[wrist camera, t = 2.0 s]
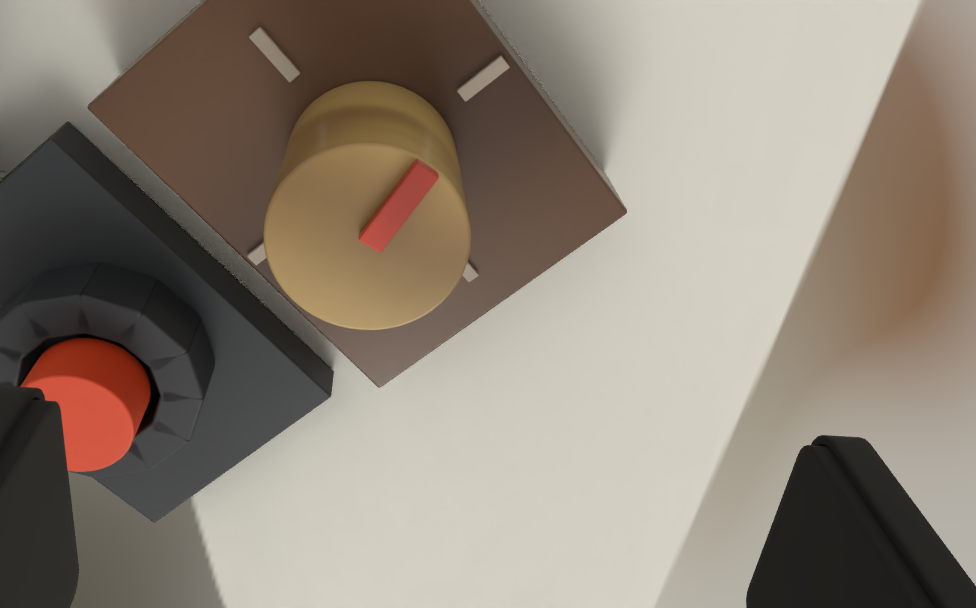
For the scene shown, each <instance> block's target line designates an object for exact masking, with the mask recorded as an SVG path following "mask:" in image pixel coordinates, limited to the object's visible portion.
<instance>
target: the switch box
mask: <svg viewBox="0 0 976 608" xmlns="http://www.w3.org/2000/svg"><path fill="white" fill-rule="evenodd" d="M73 338H94V339H100V340H104V341H107V342H110V343H113V344H115V345H117V346H119V347H121V348H123V349H124V350H126V351H127V352H129V353H130V354H131V355H132V356H134V357H135V358H136V359H137V360H138V362H139V363H140V364H141V365H142V367H143V368H144V370H145V372H146V374H147V376H148V379H149V382H150V388H151V394H150V400H149V403H148V406H147V408H146V410H145V413H144V415H143V418H142V420H141V423H140V425H139V427H138V430H137V432H136V435H135V437H134V439H133V442H132V444H131V446H130V448H129V450H128V451H127V452H126V454H125V455H124V456H123V457H122V458H120V459H119V460H118V461H116V462H115V463H113V464H112V465H109V466H107V467H105V468H102V469H99V470H94V471H86V472H74V471H70V472H74V473H78V474H82V475H86V476H90V477H93V478H94V479H95V480H97V481H98V482H99V483H101V484H102V485H104V486H105V487H106V488H108V489H109V490H110V491H112V492H113V493H114V494H116V495H117V496H118V497H120V498H121V499H123V500H124V501H125V502H127V503H128V504H129V505H131V506H132V507H133V508H135V509H136V510H138V511H139V512H140V513H142V514H143V515H144V516H146V517H147V518H148V519H150V520H151V521H153V522H156V521H158V520H159V519H160V518H162V517H163V516H165V515H166V514H168V513H169V512H170V511H172V510H173V509H175V508H176V507H177V506H179V505H180V504H181V503H183V502H184V501H186V500H187V499H189V498H190V497H191V496H193V495H194V494H195V493H197V492H198V491H200V490H201V489H202V488H204V487H205V486H207V485H208V484H209V483H211V482H212V481H214V480H215V479H216V478H218V477H219V476H221V475H222V474H223V473H225V472H226V471H228V470H229V469H230V468H232V467H233V466H235V465H236V464H237V463H239V462H240V461H242V460H243V459H244V458H246V457H247V456H249V455H250V454H251V453H253V452H254V451H256V450H257V449H258V448H260V447H261V446H263V445H264V444H265V443H267V442H268V441H270V440H271V439H272V438H274V437H275V436H277V435H278V434H279V433H281V432H282V431H284V430H285V429H286V428H288V427H289V426H291V425H292V424H293V423H295V422H296V421H298V420H299V419H300V418H302V417H303V416H305V415H306V414H307V413H309V412H310V411H312V410H313V409H314V408H316V407H317V406H319V405H320V404H321V403H323V402H324V401H326V400H327V399H328V398H330V397H331V392H332V383H333V374H334V371H333V370H332V369H331V368H330V367H329V366H328V365H327V364H326V363H324V362H323V361H322V360H321V359H320V358H319V357H318V356H317V355H316V354H315V353H314V352H313V351H312V350H311V349H310V348H309V347H307V346H306V345H305V344H304V343H303V342H302V341H301V340H300V339H299V338H298V337H297V336H296V335H295V334H294V333H293V332H292V331H290V330H289V329H288V328H287V327H286V326H285V325H284V324H283V323H282V322H281V321H280V320H279V319H278V318H277V317H276V316H274V315H273V314H272V313H271V312H270V311H269V310H268V309H267V308H266V307H265V306H264V305H263V304H262V303H261V302H260V301H259V300H257V299H256V298H255V297H254V296H253V295H252V294H251V293H250V292H249V291H248V290H247V289H246V288H245V287H244V286H243V285H242V284H240V283H239V282H238V281H237V280H236V279H235V278H234V277H233V276H232V275H231V274H230V273H229V272H228V271H227V270H226V269H225V268H223V267H222V266H221V265H220V264H219V263H218V262H217V261H216V260H215V259H214V258H213V257H212V256H211V255H210V254H209V253H208V252H206V251H205V250H204V249H203V248H202V247H201V246H200V245H199V244H198V243H197V242H196V241H195V240H194V239H193V238H192V237H191V236H189V235H188V234H187V233H186V232H185V231H184V230H183V229H182V228H181V227H180V226H179V225H178V224H177V223H176V222H175V221H173V220H172V219H171V218H170V217H169V216H168V215H167V214H166V213H165V212H164V211H163V210H162V209H161V208H160V207H159V206H158V205H156V204H155V203H154V202H153V201H152V200H151V199H150V198H149V197H148V196H147V195H146V194H145V193H144V192H143V191H142V190H141V189H139V188H138V187H137V186H136V185H135V184H134V183H133V182H132V181H131V180H130V179H129V178H128V177H127V176H126V175H125V174H124V173H122V172H121V171H120V170H119V169H118V168H117V167H116V166H115V165H114V164H113V163H112V162H111V161H110V160H109V159H108V158H107V157H105V156H104V155H103V154H102V153H101V152H100V151H99V150H98V149H97V148H96V147H95V146H94V145H93V144H92V143H91V142H90V141H88V140H87V139H86V138H85V137H84V136H83V135H82V134H81V133H80V132H79V131H78V130H77V129H76V128H75V127H74V126H72V125H71V124H70V123H69V122H66V123H65V124H64V125H63V126H62V127H61V128H59V129H58V130H57V131H56V132H55V133H54V134H53V135H52V136H50V137H49V138H48V139H47V140H46V141H45V142H44V143H43V144H41V145H40V146H39V147H38V148H37V149H36V150H35V151H34V152H32V153H31V154H30V155H29V156H28V157H27V158H26V159H25V160H23V161H22V162H21V163H20V164H19V165H18V166H17V167H16V168H14V169H13V170H12V171H11V172H10V173H9V174H8V175H7V176H6V177H4V178H3V179H2V180H1V181H0V386H17V387H20V386H21V385H22V383H23V382H24V380H25V378H26V377H27V375H28V374H29V372H30V371H31V369H32V368H33V366H34V365H35V363H36V361H37V360H38V359H39V357H40V356H41V355H42V353H44V352H45V351H46V350H47V349H48V348H50V347H51V346H53V345H55V344H57V343H59V342H62V341H65V340H68V339H73Z"/></svg>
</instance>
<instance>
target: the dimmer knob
mask: <svg viewBox="0 0 976 608" xmlns="http://www.w3.org/2000/svg"><path fill="white" fill-rule="evenodd" d="M263 241H264V248H265V253H266V258H267V261H268V263H269V266H270V269H271V271H272V273H273V275H274V277H275V278H276V280H277V282H278V283H279V284H280V286H281V287H282V289H283V290H284V291H285V292H286V293H287V295H288V296H289V297H290V298H291V299H292V300H293V301H294V302H295V303H297V304H298V305H299V306H300V307H301V308H303V309H304V310H306V311H307V312H309V313H310V314H312V315H313V316H315V317H317V318H319V319H321V320H323V321H326V322H328V323H331V324H334V325H337V326H341V327H345V328H350V329H358V330H381V329H389V328H393V327H398V326H401V325H404V324H407V323H410V322H413V321H415V320H417V319H419V318H421V317H423V316H424V315H426V314H428V313H429V312H431V311H432V310H434V309H435V308H436V307H437V306H439V305H440V304H441V303H442V302H443V301H444V300H445V299H446V298H447V297H448V296H449V295H450V294H451V292H452V291H453V290H454V288H455V287H456V286H457V284H458V283H459V281H460V279H461V277H462V275H463V273H464V271H465V268H466V265H467V262H468V258H469V254H470V247H471V229H470V222H469V216H468V211H467V205H466V200H465V194H464V189H463V183H462V178H461V172H460V167H459V161H458V155H457V150H456V146H455V142H454V139H453V136H452V134H451V131H450V129H449V128H448V126H447V124H446V122H445V121H444V119H443V118H442V116H441V115H440V114H439V113H438V111H437V110H436V109H435V108H434V107H433V106H432V105H431V104H430V103H428V102H427V101H426V100H425V99H423V98H422V97H420V96H419V95H417V94H416V93H414V92H412V91H410V90H408V89H406V88H404V87H401V86H398V85H395V84H391V83H386V82H380V81H361V82H353V83H349V84H344V85H342V86H339V87H336V88H334V89H332V90H330V91H328V92H326V93H324V94H323V95H321V96H320V97H318V98H317V99H316V100H314V101H313V102H312V103H311V104H310V105H309V106H308V107H307V108H306V109H305V110H304V112H303V113H302V114H301V116H300V117H299V119H298V120H297V122H296V124H295V125H294V128H293V130H292V133H291V135H290V138H289V141H288V144H287V147H286V150H285V154H284V157H283V160H282V163H281V166H280V169H279V172H278V175H277V179H276V182H275V185H274V188H273V191H272V194H271V197H270V200H269V204H268V207H267V210H266V214H265V219H264V227H263Z"/></svg>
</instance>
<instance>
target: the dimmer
mask: <svg viewBox="0 0 976 608" xmlns="http://www.w3.org/2000/svg"><path fill="white" fill-rule="evenodd" d="M361 81H380V82H386V83H391V84H395V85H398V86H401V87H404V88H406V89H408V90H410V91H412V92H414V93H416V94H417V95H419V96H420V97H422V98H423V99H425V100H426V101H427V102H428V103H430V104H431V105H432V106H433V107H434V108H435V109H436V110H437V111H438V113H439V114H440V115H441V116H442V118H443V119H444V121H445V122H446V124H447V126H448V128H449V129H450V131H451V134H452V136H453V139H454V142H455V146H456V150H457V155H458V161H459V167H460V172H461V178H462V183H463V189H464V194H465V200H466V205H467V211H468V216H469V222H470V229H471V247H470V254H469V258H468V262H467V265H466V268H465V271H464V273H463V275H462V277H461V279H460V281H459V283H458V284H457V286H456V287H455V288H454V290H453V291H452V292H451V294H450V295H449V296H448V297H447V298H446V299H445V300H444V301H443V302H442V303H441V304H440V305H439V306H437V307H436V308H435V309H434V310H432V311H431V312H429V313H428V314H426V315H424V316H423V317H421V318H419V319H417V320H415V321H413V322H410V323H407V324H404V325H401V326H398V327H393V328H389V329H381V330H358V329H350V328H345V327H341V326H337V325H334V324H331V323H328V322H326V321H323V320H321V319H319V318H317V317H315V316H313V315H312V314H310V313H309V312H307V311H306V310H304V309H303V308H301V307H300V306H299V305H298V304H297V303H295V302H294V301H293V300H292V299H291V298H290V297H289V296H288V295H287V293H286V292H285V291H284V290H283V289H282V287H281V286H280V284H279V283H278V282H277V280H276V278H275V277H274V275H273V273H272V271H271V269H270V266H269V263H268V261H267V258H266V253H265V248H264V241H263V227H264V219H265V214H266V210H267V207H268V204H269V200H270V197H271V194H272V191H273V188H274V185H275V182H276V179H277V175H278V172H279V169H280V166H281V163H282V160H283V157H284V154H285V150H286V147H287V144H288V141H289V138H290V135H291V133H292V130H293V128H294V125H295V124H296V122H297V120H298V119H299V117H300V116H301V114H302V113H303V112H304V110H305V109H306V108H307V107H308V106H309V105H310V104H311V103H312V102H313V101H314V100H316V99H317V98H318V97H320V96H321V95H323V94H324V93H326V92H328V91H330V90H332V89H334V88H336V87H339V86H342V85H344V84H349V83H353V82H361ZM88 109H89V110H90V111H91V112H92V113H93V114H94V115H95V116H96V117H97V118H98V119H99V120H100V121H101V122H102V123H103V124H104V125H106V126H107V127H108V128H109V129H110V130H111V131H112V132H113V133H114V134H115V135H116V136H117V137H118V138H119V139H120V140H121V141H122V142H123V143H124V144H125V145H126V146H127V147H128V148H129V149H131V150H132V151H133V152H134V153H135V154H136V155H137V156H138V157H139V158H140V159H141V160H142V161H143V162H144V163H145V164H146V165H147V166H148V167H149V168H150V169H151V170H152V171H153V172H154V173H156V174H157V175H158V176H159V177H160V178H161V179H162V180H163V181H164V182H165V183H166V184H167V185H168V186H169V187H170V188H171V189H172V190H173V191H174V192H175V193H176V194H177V195H178V196H179V197H181V198H182V199H183V200H184V201H185V202H186V203H187V204H188V205H189V206H190V207H191V208H192V209H193V210H194V211H195V212H196V213H197V214H198V215H199V216H200V217H201V218H202V219H203V220H204V221H206V222H207V223H208V224H209V225H210V226H211V227H212V228H213V229H214V230H215V231H216V232H217V233H218V234H219V235H220V236H221V237H222V238H223V239H224V240H225V241H226V242H227V243H228V244H229V245H231V246H232V247H233V248H234V249H235V250H236V251H237V252H238V253H239V254H240V255H241V256H242V257H243V258H244V259H245V260H246V261H247V262H248V263H249V264H250V265H251V266H252V267H253V268H254V269H256V270H257V271H258V272H259V273H260V274H261V275H262V276H263V277H264V278H265V279H266V280H267V281H268V282H269V283H270V284H271V285H272V286H273V287H274V288H275V289H276V290H277V291H278V292H279V293H281V294H282V295H283V296H284V297H285V298H286V299H287V300H288V301H289V302H290V303H291V304H292V305H293V306H294V307H295V308H296V309H297V310H298V311H299V312H300V313H301V314H302V315H303V316H304V317H306V318H307V319H308V320H309V321H310V322H311V323H312V324H313V325H314V326H315V327H316V328H317V329H318V330H319V331H320V332H321V333H322V334H323V335H324V336H325V337H326V338H327V339H328V340H329V341H331V342H332V343H333V344H334V345H335V346H336V347H337V348H338V349H339V350H340V351H341V352H342V353H343V354H344V355H345V356H346V357H347V358H348V359H349V360H350V361H351V362H352V363H353V364H354V365H356V366H357V367H358V368H359V369H360V370H361V371H362V372H363V373H364V374H365V375H366V376H367V377H368V378H369V379H370V380H371V381H372V382H373V383H374V384H375V385H376V386H377V387H382V386H383V385H384V384H386V383H387V382H389V381H390V380H392V379H393V378H394V377H396V376H397V375H399V374H400V373H401V372H403V371H404V370H406V369H407V368H409V367H410V366H411V365H413V364H414V363H416V362H417V361H418V360H420V359H421V358H423V357H424V356H426V355H427V354H428V353H430V352H431V351H433V350H434V349H435V348H437V347H438V346H440V345H441V344H442V343H444V342H445V341H447V340H448V339H450V338H451V337H452V336H454V335H455V334H457V333H458V332H459V331H461V330H462V329H464V328H465V327H467V326H468V325H469V324H471V323H472V322H474V321H475V320H476V319H478V318H479V317H481V316H482V315H484V314H485V313H486V312H488V311H489V310H491V309H492V308H493V307H495V306H496V305H498V304H499V303H501V302H502V301H503V300H505V299H506V298H508V297H509V296H510V295H512V294H513V293H515V292H516V291H518V290H519V289H520V288H522V287H523V286H525V285H526V284H527V283H529V282H530V281H532V280H533V279H534V278H536V277H537V276H539V275H540V274H542V273H543V272H544V271H546V270H547V269H549V268H550V267H551V266H553V265H554V264H556V263H557V262H559V261H560V260H561V259H563V258H564V257H566V256H567V255H568V254H570V253H571V252H573V251H574V250H576V249H577V248H578V247H580V246H581V245H583V244H584V243H585V242H587V241H588V240H590V239H591V238H593V237H594V236H595V235H597V234H598V233H600V232H601V231H602V230H604V229H605V228H607V227H608V226H610V225H611V224H612V223H614V222H615V221H617V220H618V219H619V218H621V217H622V216H624V215H625V214H626V213H627V209H626V208H625V206H624V204H623V203H622V201H621V199H620V197H619V196H618V194H617V192H616V190H615V189H614V187H613V185H612V184H611V182H610V180H609V178H608V177H607V175H606V173H605V172H604V171H603V169H602V168H601V166H600V165H599V164H598V162H597V161H596V160H595V158H594V157H593V156H592V154H591V153H590V152H589V150H588V149H587V148H586V146H585V145H584V144H583V142H582V141H581V139H580V138H579V137H578V135H577V134H576V133H575V131H574V130H573V129H572V127H571V126H570V125H569V123H568V122H567V121H566V119H565V118H564V116H563V115H562V114H561V112H560V111H559V110H558V108H557V107H556V106H555V104H554V103H553V102H552V100H551V99H550V98H549V96H548V95H547V94H546V92H545V91H544V89H543V88H542V87H541V85H540V84H539V83H538V81H537V80H536V79H535V77H534V76H533V75H532V73H531V72H530V71H529V69H528V68H527V67H526V65H525V64H524V62H523V61H522V60H521V58H520V57H519V56H518V54H517V53H516V52H515V50H514V49H513V48H512V46H511V45H510V44H509V42H508V41H507V40H506V38H505V37H504V35H503V34H502V33H501V31H500V30H499V29H498V27H497V26H496V25H495V23H494V22H493V21H492V19H491V18H490V17H489V15H488V14H487V13H486V11H485V10H484V8H483V7H482V6H481V4H480V3H479V2H478V0H203V1H202V2H201V3H200V4H199V5H198V6H196V7H195V8H194V9H193V10H192V11H191V12H190V13H189V14H187V15H186V16H185V17H184V18H183V19H182V20H181V21H180V22H178V23H177V24H176V25H175V26H174V27H173V28H172V29H171V30H169V31H168V32H167V33H166V34H165V35H164V36H163V37H162V38H160V39H159V40H158V41H157V42H156V43H155V44H154V45H153V46H151V47H150V48H149V49H148V50H147V51H146V52H145V53H144V54H142V55H141V56H140V57H139V58H138V59H137V60H136V61H135V62H134V63H132V64H131V65H130V66H129V67H128V68H127V69H126V70H125V71H123V72H122V73H121V74H120V75H119V76H118V77H117V78H116V79H115V80H114V81H113V82H112V83H111V84H110V85H109V86H108V87H107V88H106V89H104V90H103V91H102V92H101V93H100V94H99V95H98V96H97V97H96V98H95V99H94V100H93V101H92V102H91V103H90V104H89V105H88Z"/></svg>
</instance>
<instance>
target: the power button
mask: <svg viewBox="0 0 976 608" xmlns="http://www.w3.org/2000/svg"><path fill="white" fill-rule="evenodd" d="M20 387H33V388H39V389H41V390H42V392H43V393H44V396H45V400H46V401H56V402H58V404H59V406H60V409H61V416H62V425H63V434H64V442H65V451H66V460H67V469H68V471H74V472H86V471H94V470H99V469H102V468H105V467H107V466H109V465H112V464H113V463H115V462H116V461H118V460H119V459H120V458H122V457H123V456H124V455H125V454H126V452H127V451H128V450H129V448H130V446H131V444H132V442H133V439H134V437H135V435H136V432H137V430H138V427H139V425H140V423H141V420H142V418H143V415H144V413H145V410H146V408H147V406H148V403H149V400H150V394H151V388H150V382H149V379H148V376H147V374H146V372H145V370H144V368H143V367H142V365H141V364H140V363H139V362H138V360H137V359H136V358H135V357H134V356H132V355H131V354H130V353H129V352H127V351H126V350H124V349H123V348H121V347H119V346H117V345H115V344H113V343H110V342H107V341H104V340H100V339H94V338H73V339H68V340H65V341H62V342H59V343H57V344H55V345H53V346H51V347H50V348H48V349H47V350H46V351H45V352H44V353H42V355H41V356H40V357H39V359H38V360H37V361H36V363H35V365H34V366H33V368H32V369H31V371H30V372H29V374H28V375H27V377H26V378H25V380H24V382H23V383H22V385H21V386H20Z"/></svg>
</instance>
